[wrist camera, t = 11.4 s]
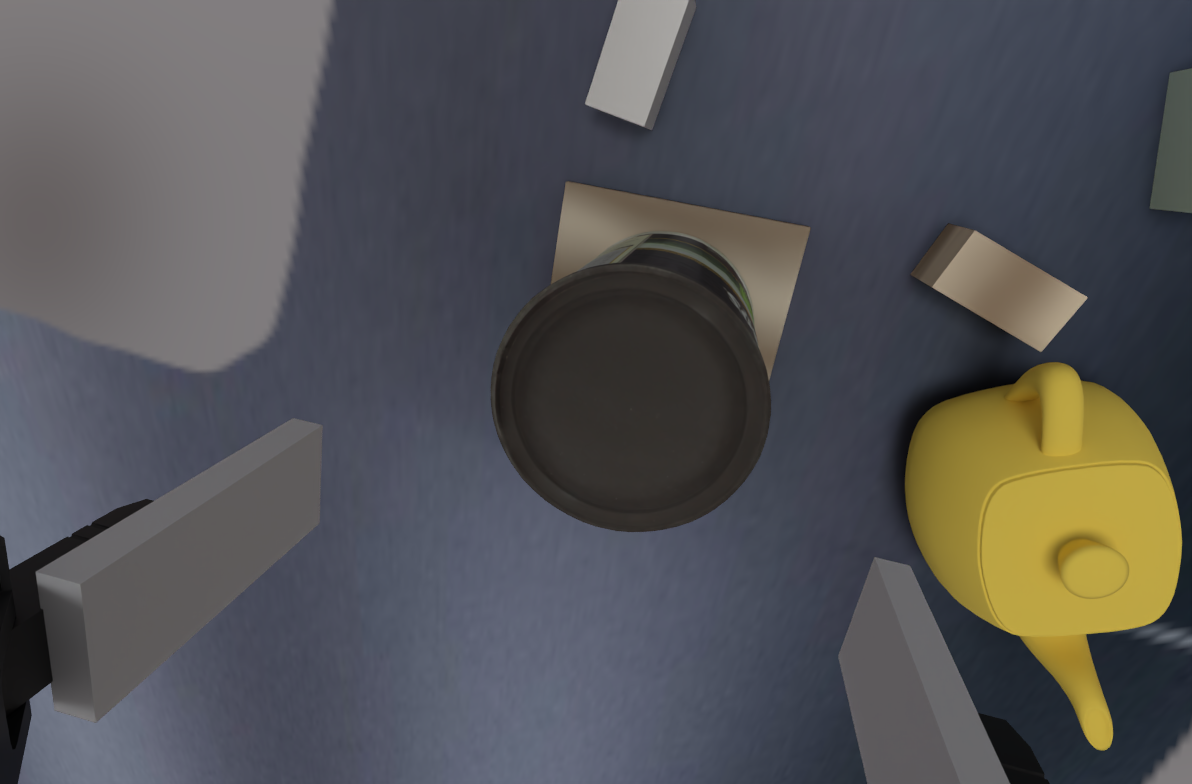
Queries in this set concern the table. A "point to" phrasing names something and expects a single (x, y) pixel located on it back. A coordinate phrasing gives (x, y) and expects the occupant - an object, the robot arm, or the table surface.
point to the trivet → (747, 241)
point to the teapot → (1047, 519)
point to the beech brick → (998, 285)
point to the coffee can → (635, 386)
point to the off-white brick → (640, 58)
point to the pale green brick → (1175, 148)
